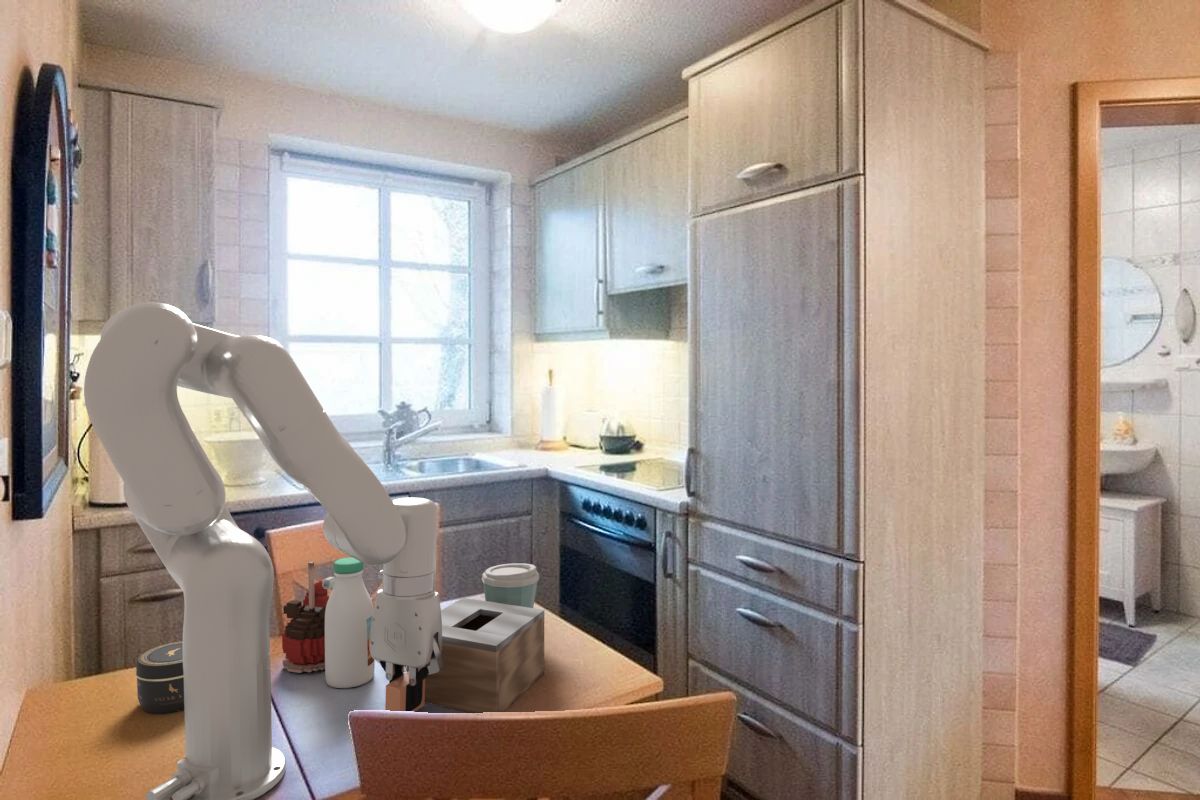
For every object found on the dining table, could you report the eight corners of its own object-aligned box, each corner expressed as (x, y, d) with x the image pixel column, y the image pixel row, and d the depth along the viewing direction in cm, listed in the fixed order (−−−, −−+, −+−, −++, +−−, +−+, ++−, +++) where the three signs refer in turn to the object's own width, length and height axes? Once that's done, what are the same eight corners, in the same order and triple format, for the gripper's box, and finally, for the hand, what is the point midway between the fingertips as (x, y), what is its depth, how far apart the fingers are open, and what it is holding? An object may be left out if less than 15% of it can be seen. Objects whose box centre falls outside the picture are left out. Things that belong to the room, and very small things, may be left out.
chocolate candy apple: (267, 671, 117) (265, 567, 116) (305, 650, 126) (303, 553, 125) (321, 679, 114) (319, 573, 113) (355, 657, 123) (354, 557, 122)
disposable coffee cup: (469, 650, 126) (469, 570, 125) (504, 630, 136) (503, 555, 135) (517, 662, 121) (517, 578, 120) (549, 641, 131) (550, 563, 130)
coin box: (496, 718, 102) (496, 645, 101) (407, 698, 108) (406, 629, 107) (544, 673, 117) (544, 610, 116) (463, 658, 123) (463, 597, 122)
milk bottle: (358, 691, 110) (357, 568, 109) (315, 687, 112) (313, 565, 111) (383, 670, 118) (382, 555, 117) (342, 666, 119) (340, 552, 118)
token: (399, 723, 99) (400, 688, 99) (384, 719, 100) (385, 685, 99) (424, 705, 104) (425, 672, 104) (410, 701, 105) (411, 669, 105)
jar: (135, 723, 100) (134, 671, 100) (138, 695, 109) (136, 647, 108) (214, 705, 106) (212, 656, 105) (210, 680, 114) (209, 634, 114)
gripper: (348, 581, 101) (344, 705, 101) (439, 597, 95) (435, 729, 96) (382, 569, 108) (378, 685, 108) (469, 583, 102) (465, 706, 103)
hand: (405, 705), depth 102 cm, fingers closed on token, 2 cm apart
